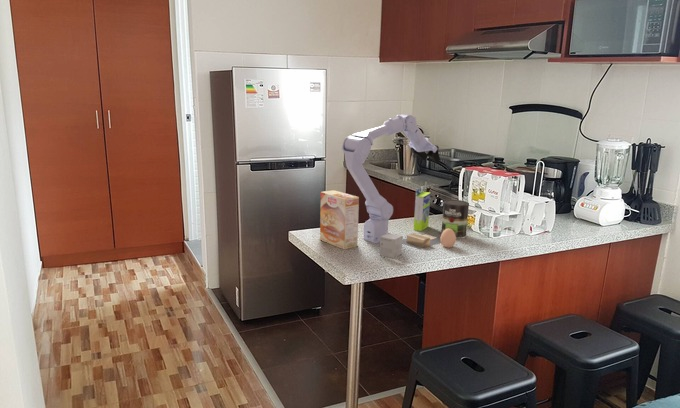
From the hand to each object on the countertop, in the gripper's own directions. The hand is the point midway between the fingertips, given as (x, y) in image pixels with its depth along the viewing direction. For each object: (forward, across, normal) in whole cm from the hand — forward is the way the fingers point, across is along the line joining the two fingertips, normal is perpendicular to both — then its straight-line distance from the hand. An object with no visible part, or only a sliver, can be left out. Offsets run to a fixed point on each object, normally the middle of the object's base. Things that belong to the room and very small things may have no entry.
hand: (431, 159), depth 216 cm
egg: (+13, -23, +29) cm, 39 cm away
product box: (-4, -18, +46) cm, 50 cm away
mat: (+10, -13, +31) cm, 36 cm away
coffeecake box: (-10, +3, +53) cm, 54 cm away
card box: (+7, -15, +34) cm, 38 cm away
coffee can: (+23, -13, +19) cm, 33 cm away
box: (+20, +1, +23) cm, 30 cm away
